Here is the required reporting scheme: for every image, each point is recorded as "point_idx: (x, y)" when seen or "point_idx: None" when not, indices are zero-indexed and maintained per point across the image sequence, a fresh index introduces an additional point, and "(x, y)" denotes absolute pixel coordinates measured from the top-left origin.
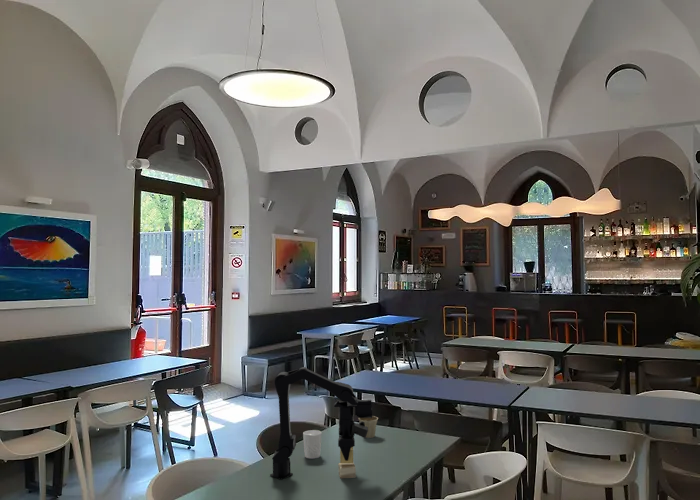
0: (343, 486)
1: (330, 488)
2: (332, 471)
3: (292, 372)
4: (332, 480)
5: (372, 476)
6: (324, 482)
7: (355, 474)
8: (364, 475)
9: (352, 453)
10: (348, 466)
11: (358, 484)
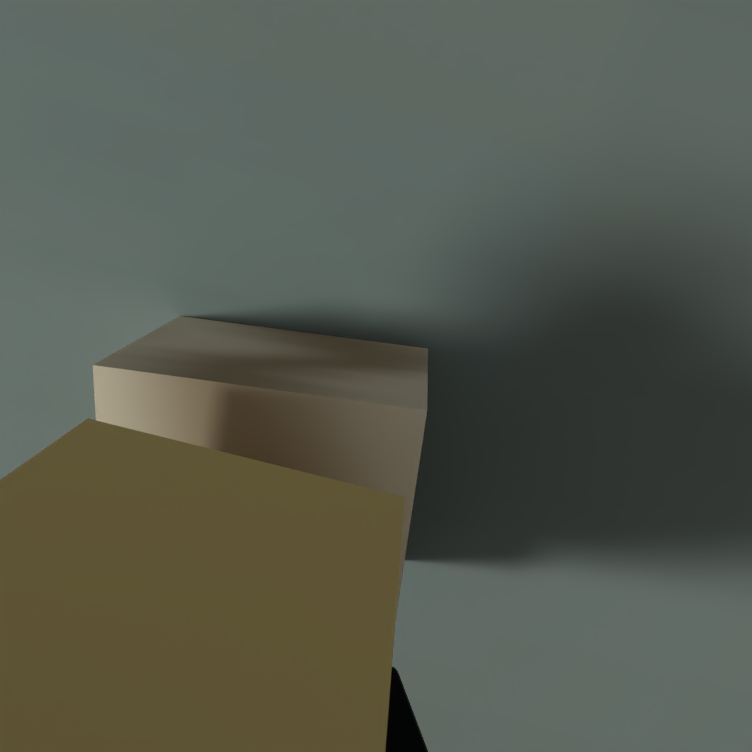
0: (702, 593)
1: (691, 737)
2: None
3: None
4: (437, 657)
5: (472, 31)
6: (470, 746)
7: (425, 365)
8: (379, 176)
9: (379, 728)
10: None
11: (732, 383)
